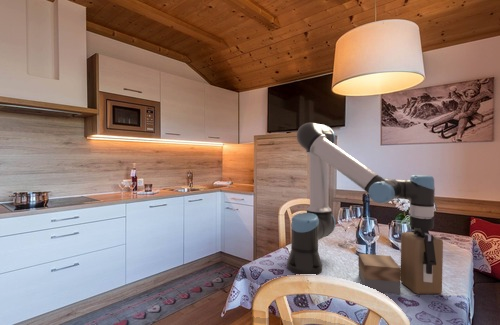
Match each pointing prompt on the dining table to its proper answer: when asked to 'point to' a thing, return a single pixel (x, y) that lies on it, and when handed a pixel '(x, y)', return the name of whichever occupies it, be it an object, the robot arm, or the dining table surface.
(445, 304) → the dining table surface
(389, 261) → the tower top slab
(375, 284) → the tower base slab
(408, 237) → the wooden block
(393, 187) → the robot arm
